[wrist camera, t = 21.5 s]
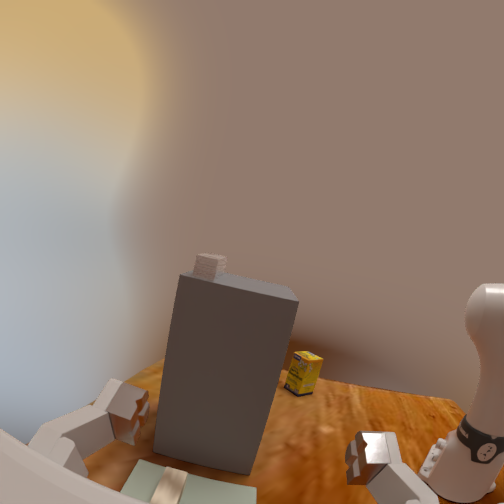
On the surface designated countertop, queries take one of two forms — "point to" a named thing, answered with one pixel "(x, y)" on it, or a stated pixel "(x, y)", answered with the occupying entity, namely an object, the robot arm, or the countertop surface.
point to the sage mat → (186, 487)
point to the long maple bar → (170, 487)
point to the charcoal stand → (222, 369)
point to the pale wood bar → (209, 266)
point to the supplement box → (303, 373)
